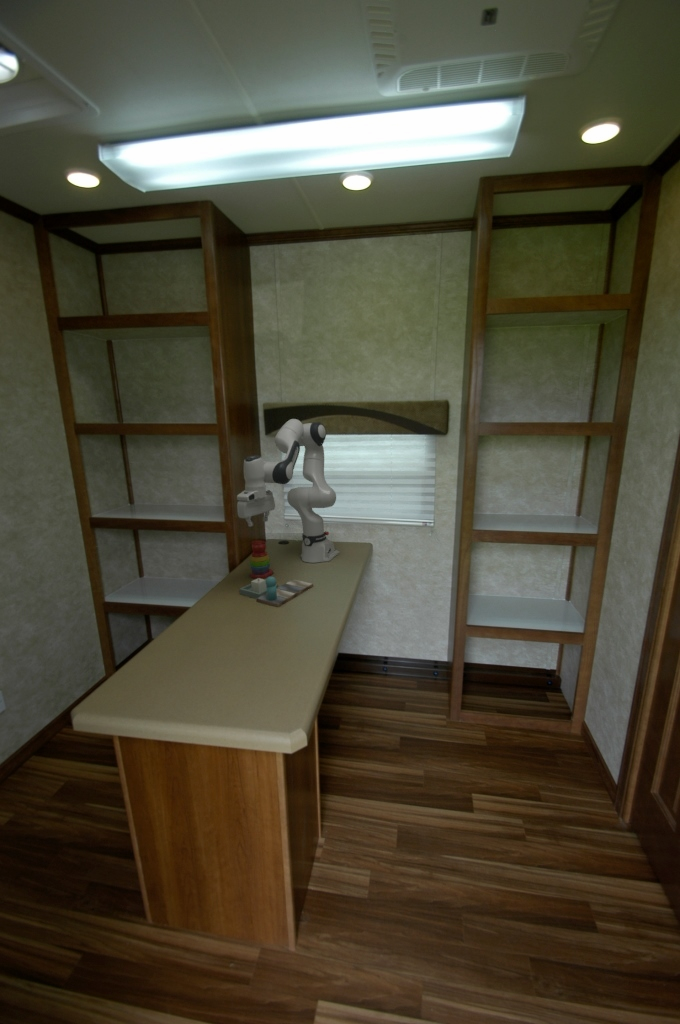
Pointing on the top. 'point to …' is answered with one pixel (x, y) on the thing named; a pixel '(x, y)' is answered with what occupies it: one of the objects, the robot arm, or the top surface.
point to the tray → (248, 591)
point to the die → (258, 585)
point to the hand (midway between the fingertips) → (258, 523)
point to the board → (286, 592)
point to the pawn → (271, 588)
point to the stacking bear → (260, 561)
